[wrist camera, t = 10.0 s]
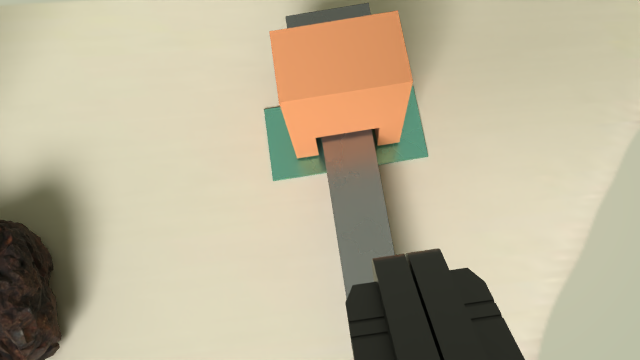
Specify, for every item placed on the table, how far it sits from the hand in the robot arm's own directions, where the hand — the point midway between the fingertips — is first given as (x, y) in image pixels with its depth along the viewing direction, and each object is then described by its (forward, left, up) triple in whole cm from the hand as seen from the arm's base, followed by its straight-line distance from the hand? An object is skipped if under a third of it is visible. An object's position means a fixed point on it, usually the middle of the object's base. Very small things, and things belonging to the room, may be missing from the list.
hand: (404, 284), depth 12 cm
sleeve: (+8, +9, -21) cm, 24 cm away
